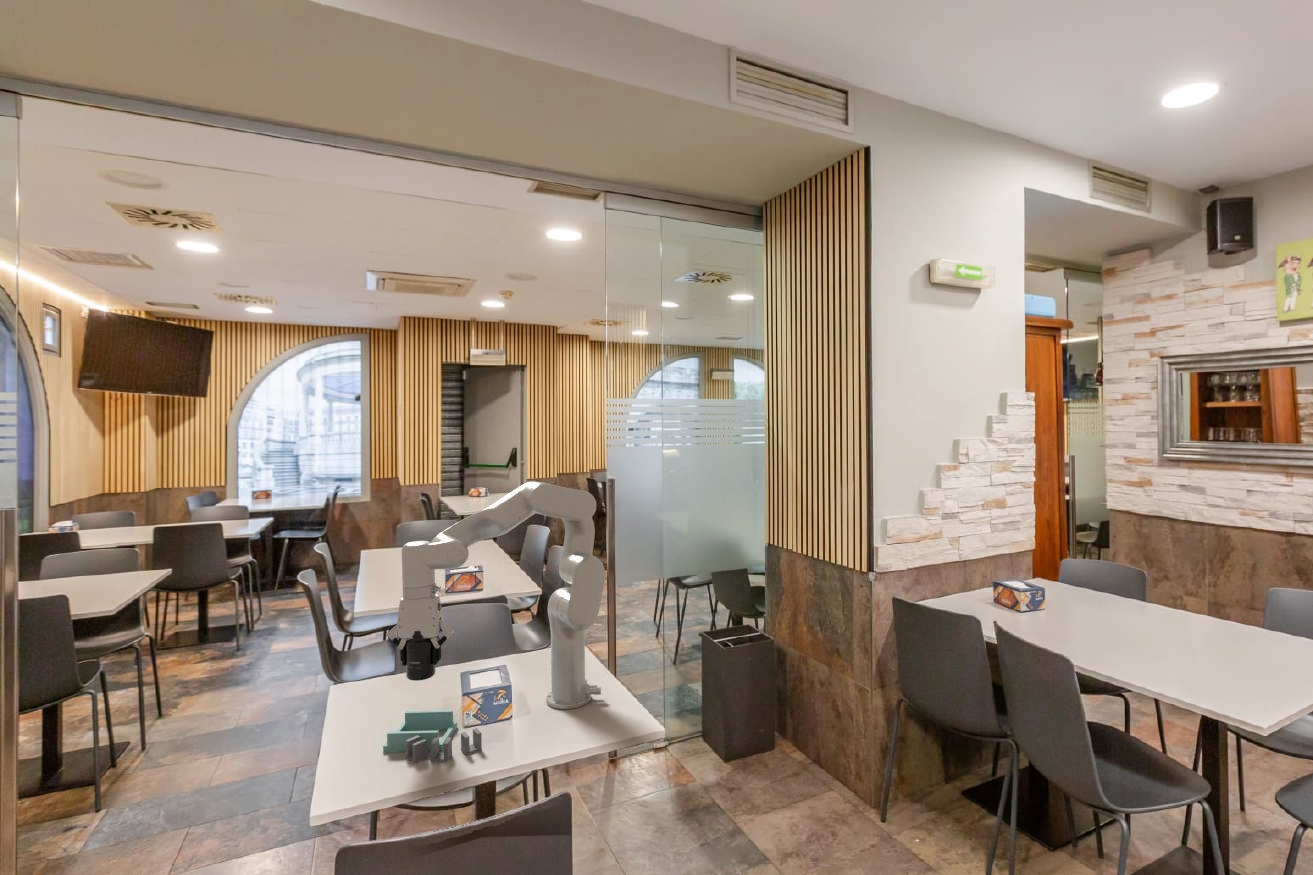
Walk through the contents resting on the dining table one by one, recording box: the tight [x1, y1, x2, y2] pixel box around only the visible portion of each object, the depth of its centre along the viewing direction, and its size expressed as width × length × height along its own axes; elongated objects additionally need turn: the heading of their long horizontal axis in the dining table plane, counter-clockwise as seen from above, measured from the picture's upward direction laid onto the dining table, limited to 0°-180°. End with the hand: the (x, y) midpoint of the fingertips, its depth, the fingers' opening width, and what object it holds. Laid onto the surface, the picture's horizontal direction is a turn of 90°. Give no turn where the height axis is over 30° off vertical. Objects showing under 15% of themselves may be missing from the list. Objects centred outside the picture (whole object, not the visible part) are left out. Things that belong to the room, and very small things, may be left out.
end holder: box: [382, 709, 458, 753], centre depth 154 cm, size 14×12×4 cm
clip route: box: [405, 727, 483, 764], centre depth 146 cm, size 17×8×4 cm, turn 91°
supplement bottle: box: [405, 631, 436, 682], centre depth 153 cm, size 7×7×12 cm
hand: (421, 662), depth 153 cm, fingers closed on supplement bottle, 6 cm apart
